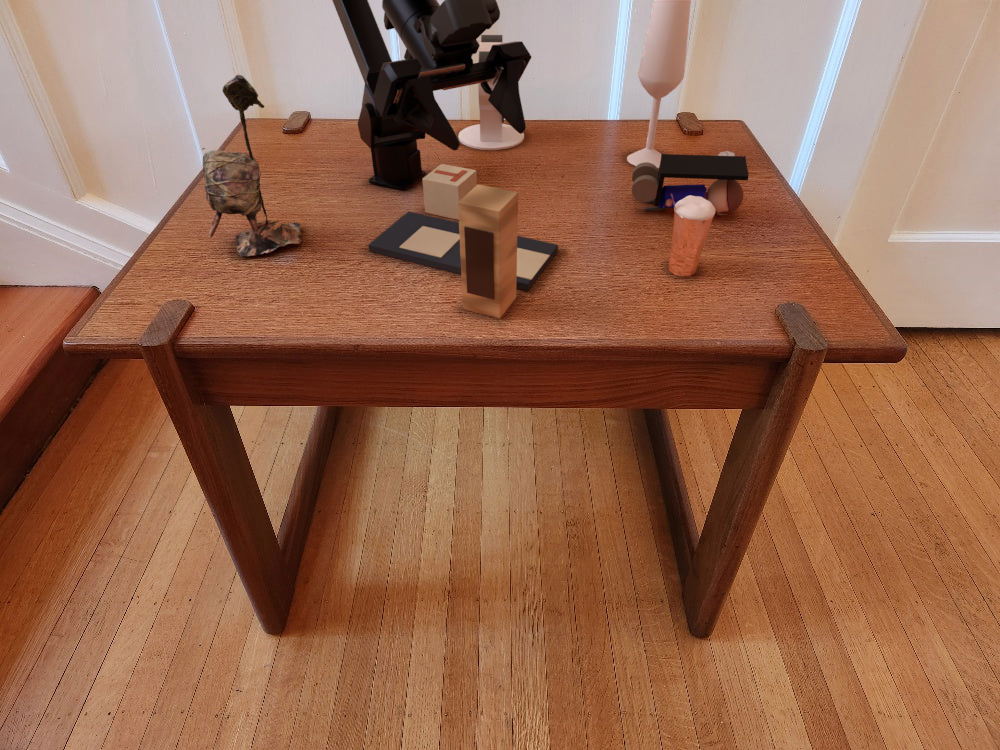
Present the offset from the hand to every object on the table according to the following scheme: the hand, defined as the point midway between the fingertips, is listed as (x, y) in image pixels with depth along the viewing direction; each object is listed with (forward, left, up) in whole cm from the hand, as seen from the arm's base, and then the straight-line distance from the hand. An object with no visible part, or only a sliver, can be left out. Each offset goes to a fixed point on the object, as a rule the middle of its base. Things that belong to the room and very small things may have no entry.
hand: (491, 139), depth 71 cm
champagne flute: (+10, +38, -15) cm, 42 cm away
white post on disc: (-17, +36, -15) cm, 42 cm away
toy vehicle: (+19, +23, -15) cm, 33 cm away
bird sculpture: (-29, -9, -15) cm, 34 cm away
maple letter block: (+4, -9, -15) cm, 18 cm away
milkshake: (+22, +7, -15) cm, 28 cm away
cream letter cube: (-11, +10, -15) cm, 21 cm away
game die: (+22, +38, -15) cm, 46 cm away
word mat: (-4, 0, -15) cm, 15 cm away
